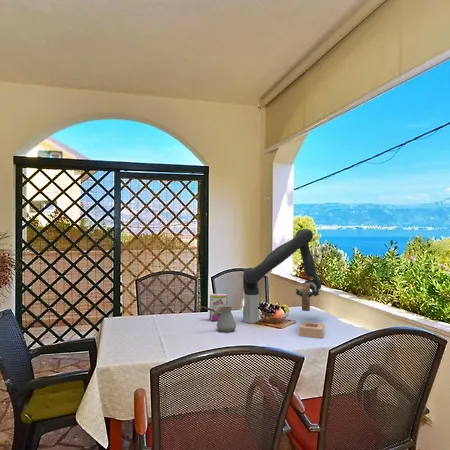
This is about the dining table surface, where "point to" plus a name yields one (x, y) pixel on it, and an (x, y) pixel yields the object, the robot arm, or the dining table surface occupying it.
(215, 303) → the candy bar box
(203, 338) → the dining table surface
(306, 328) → the socket block
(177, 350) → the dining table surface
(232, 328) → the coffee pot
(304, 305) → the walnut peg
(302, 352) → the dining table surface
